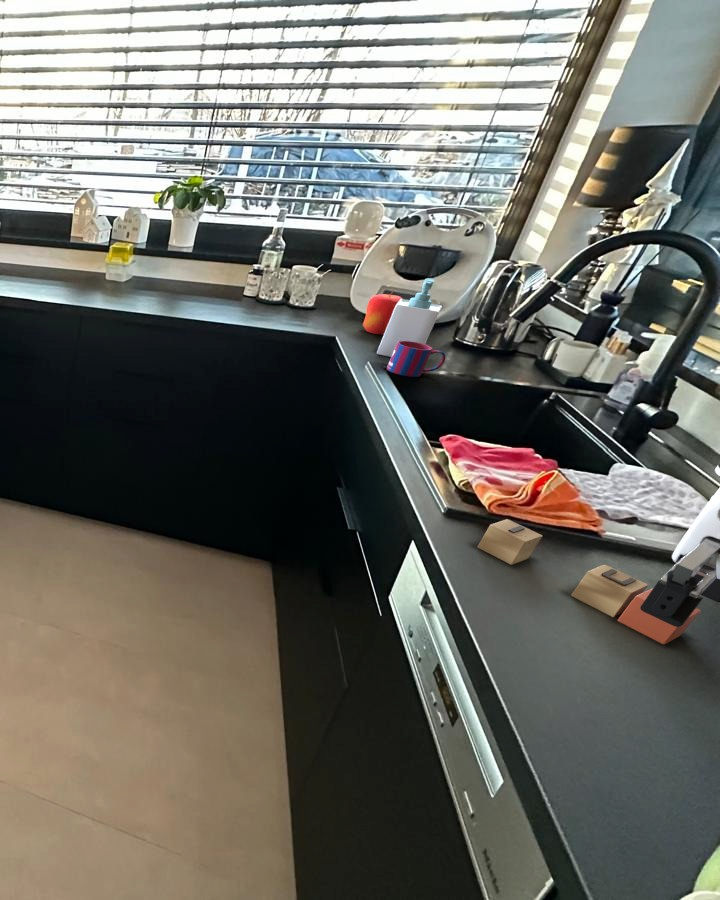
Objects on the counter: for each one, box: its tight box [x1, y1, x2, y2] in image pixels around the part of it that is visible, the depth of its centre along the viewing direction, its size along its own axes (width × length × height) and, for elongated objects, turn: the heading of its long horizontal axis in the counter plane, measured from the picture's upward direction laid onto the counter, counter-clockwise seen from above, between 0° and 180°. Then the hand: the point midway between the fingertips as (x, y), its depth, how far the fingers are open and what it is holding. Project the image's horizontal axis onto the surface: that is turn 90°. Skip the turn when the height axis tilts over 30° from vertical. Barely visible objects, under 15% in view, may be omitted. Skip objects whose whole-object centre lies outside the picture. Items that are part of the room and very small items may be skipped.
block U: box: [570, 564, 649, 618], centre depth 74 cm, size 4×4×4 cm
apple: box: [362, 291, 404, 336], centre depth 175 cm, size 9×8×12 cm
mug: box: [386, 341, 447, 378], centre depth 145 cm, size 7×10×7 cm
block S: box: [617, 587, 702, 645], centre depth 70 cm, size 4×4×4 cm
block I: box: [477, 518, 543, 566], centre depth 82 cm, size 4×4×4 cm
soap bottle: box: [376, 277, 442, 358], centre depth 155 cm, size 9×9×19 cm
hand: (681, 605), depth 69 cm, fingers open, 9 cm apart
